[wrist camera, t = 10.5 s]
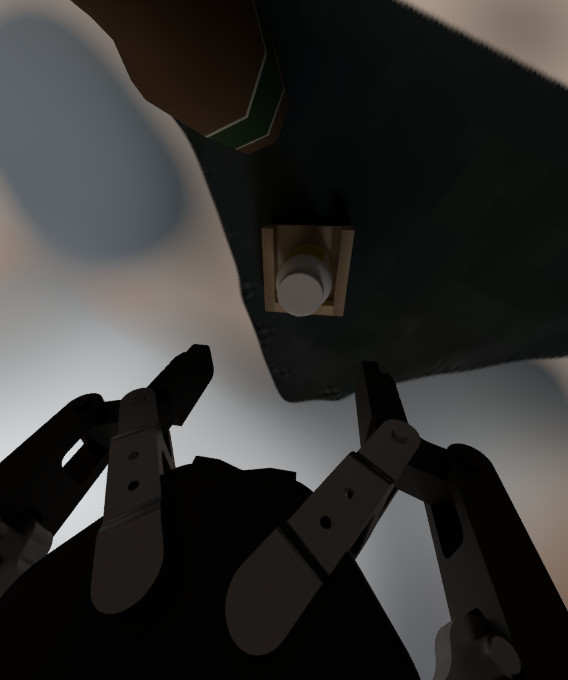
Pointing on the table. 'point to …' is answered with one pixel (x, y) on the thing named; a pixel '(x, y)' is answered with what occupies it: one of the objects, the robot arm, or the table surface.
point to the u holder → (286, 237)
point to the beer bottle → (202, 64)
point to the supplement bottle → (304, 279)
